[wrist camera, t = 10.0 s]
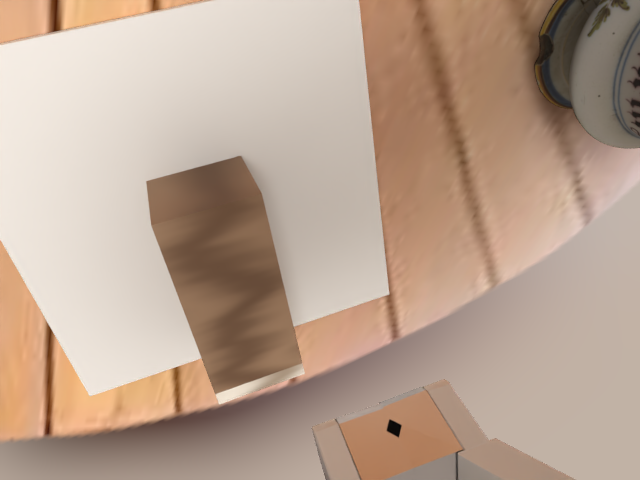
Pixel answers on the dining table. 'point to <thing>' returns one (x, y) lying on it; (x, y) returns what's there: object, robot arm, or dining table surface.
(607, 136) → the apothecary jar
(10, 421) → the dining table surface
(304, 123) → the white mat
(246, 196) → the walnut block
